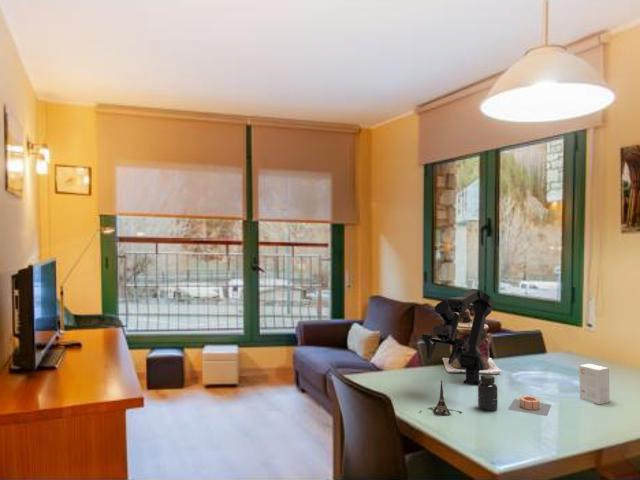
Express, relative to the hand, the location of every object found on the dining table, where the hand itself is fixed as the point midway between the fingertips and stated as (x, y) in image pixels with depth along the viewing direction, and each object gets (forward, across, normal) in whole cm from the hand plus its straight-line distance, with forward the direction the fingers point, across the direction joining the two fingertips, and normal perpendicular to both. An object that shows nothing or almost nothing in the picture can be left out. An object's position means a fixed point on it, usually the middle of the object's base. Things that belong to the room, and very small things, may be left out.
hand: (438, 361), depth 187 cm
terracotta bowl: (+4, +30, +19) cm, 36 cm away
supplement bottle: (+11, +19, +10) cm, 24 cm away
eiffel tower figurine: (+20, +9, -1) cm, 21 cm away
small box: (-11, +45, +40) cm, 61 cm away
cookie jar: (-18, -12, +50) cm, 54 cm away
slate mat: (+4, +30, +20) cm, 36 cm away
